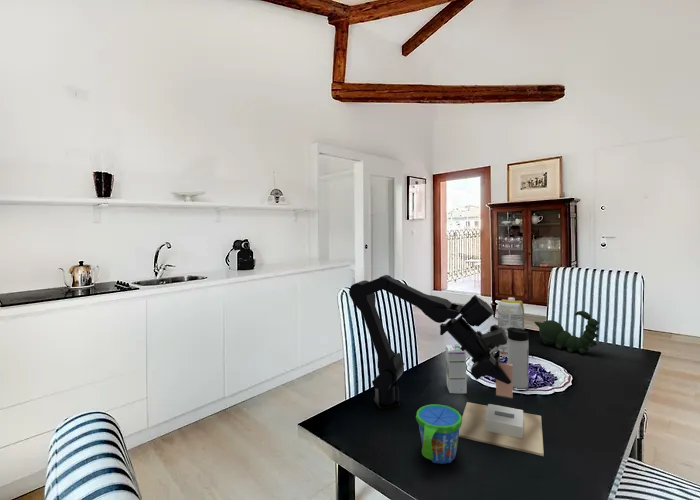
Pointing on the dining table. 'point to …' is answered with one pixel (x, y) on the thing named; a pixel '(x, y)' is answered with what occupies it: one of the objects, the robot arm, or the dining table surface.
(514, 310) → the juice carton
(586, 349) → the toy figurine
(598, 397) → the dining table surface
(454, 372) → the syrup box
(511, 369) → the salmon pink flat block
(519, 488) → the dining table surface
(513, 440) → the base board
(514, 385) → the travel mug
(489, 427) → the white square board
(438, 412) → the snack cup
